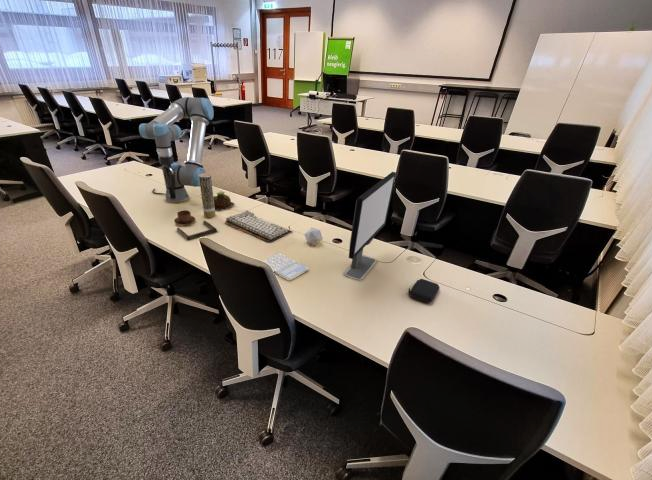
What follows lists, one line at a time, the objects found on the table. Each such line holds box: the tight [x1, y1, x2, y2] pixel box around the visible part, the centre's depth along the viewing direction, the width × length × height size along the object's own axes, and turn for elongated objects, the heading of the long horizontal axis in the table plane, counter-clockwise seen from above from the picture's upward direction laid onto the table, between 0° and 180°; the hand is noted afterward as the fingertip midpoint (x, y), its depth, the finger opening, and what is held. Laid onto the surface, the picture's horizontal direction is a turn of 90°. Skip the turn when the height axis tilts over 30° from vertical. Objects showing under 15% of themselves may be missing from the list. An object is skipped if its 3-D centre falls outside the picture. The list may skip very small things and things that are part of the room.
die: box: [304, 226, 323, 247], centre depth 174 cm, size 8×9×10 cm
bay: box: [176, 220, 218, 241], centre depth 183 cm, size 14×17×2 cm
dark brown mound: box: [213, 190, 235, 211], centre depth 212 cm, size 17×16×10 cm
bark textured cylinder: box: [199, 172, 216, 219], centre depth 194 cm, size 7×7×25 cm
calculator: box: [262, 252, 309, 281], centre depth 155 cm, size 13×20×2 cm, turn 47°
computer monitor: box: [344, 171, 397, 281], centre depth 146 cm, size 41×8×40 cm, turn 148°
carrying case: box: [407, 278, 441, 304], centre depth 141 cm, size 11×3×15 cm
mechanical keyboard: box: [224, 210, 293, 243], centre depth 189 cm, size 38×19×3 cm, turn 50°
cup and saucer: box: [173, 209, 196, 226], centre depth 191 cm, size 12×12×6 cm
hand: (173, 198), depth 194 cm, fingers closed
